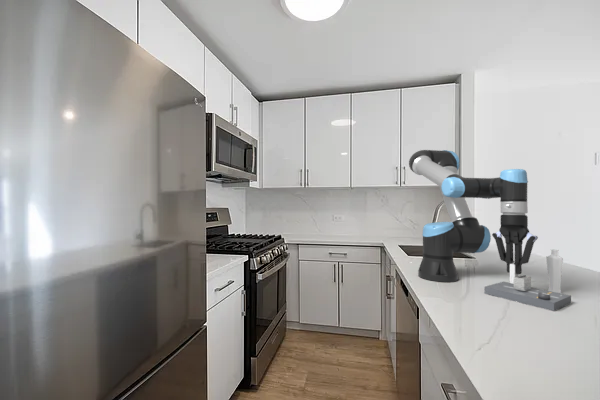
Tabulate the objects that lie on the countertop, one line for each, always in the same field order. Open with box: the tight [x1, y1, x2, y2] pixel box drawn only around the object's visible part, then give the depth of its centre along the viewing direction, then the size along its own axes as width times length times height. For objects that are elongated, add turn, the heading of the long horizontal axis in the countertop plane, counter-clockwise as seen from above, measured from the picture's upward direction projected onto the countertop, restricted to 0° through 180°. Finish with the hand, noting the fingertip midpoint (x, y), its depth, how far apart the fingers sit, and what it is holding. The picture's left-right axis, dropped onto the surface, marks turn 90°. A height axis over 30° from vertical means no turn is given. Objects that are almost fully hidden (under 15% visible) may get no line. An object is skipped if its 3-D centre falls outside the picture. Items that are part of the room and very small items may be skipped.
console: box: [483, 281, 572, 312], centre depth 96 cm, size 19×14×4 cm
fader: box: [514, 274, 532, 291], centre depth 97 cm, size 3×5×4 cm, turn 121°
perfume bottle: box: [546, 249, 564, 294], centre depth 104 cm, size 5×4×15 cm
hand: (514, 283), depth 99 cm, fingers closed
